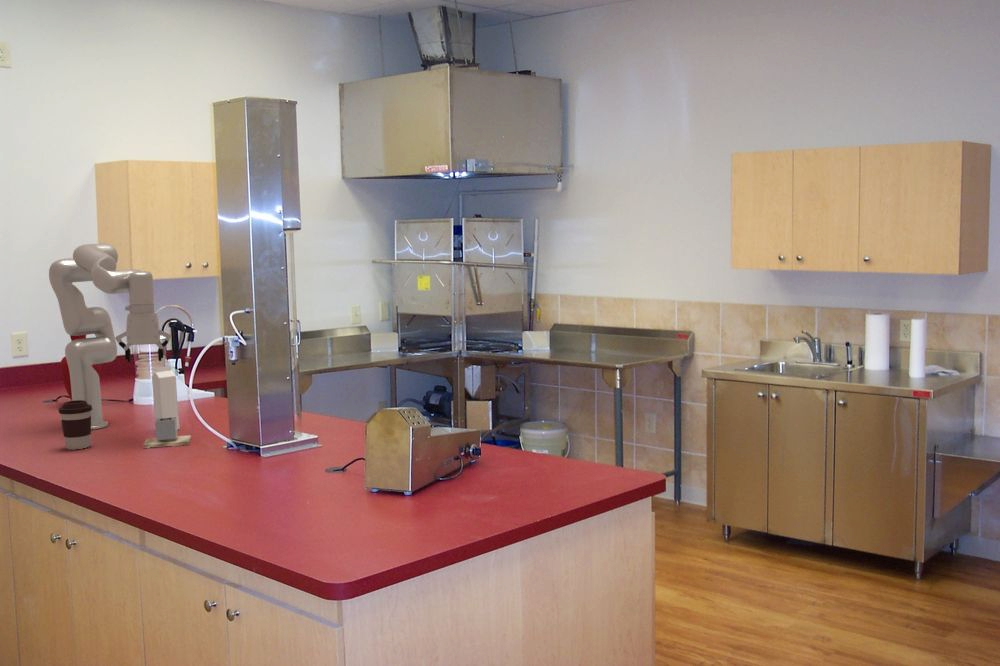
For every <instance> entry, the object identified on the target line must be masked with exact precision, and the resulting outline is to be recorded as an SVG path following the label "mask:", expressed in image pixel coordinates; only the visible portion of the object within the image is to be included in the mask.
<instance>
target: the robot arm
mask: <svg viewBox="0 0 1000 666" xmlns="http://www.w3.org/2000/svg"><path fill="white" fill-rule="evenodd" d="M118 260H119V253H118V251H117V249H116V247H114V246H113V245H112V244H110V243H87V244H85V243H84V244H81V245H79V246H77V247H76V248H75V249H74V251H73V253H72V257H67V258H62V259H58V260H57V259H56V260H55V261H54V262H52V263H51V265H50V267H49V269H48V278H49V283H50V286H51V289H52V290H53V292H54V294H55V296H56V299H57V302H58V306H59V311H60V315H61V320H62V324H63V328H64V330H65V332H66V334H67V335H69V336H70V335H72V336H79V335H86V336H88V335H95V336H94V337H86V338H84V339H77V340H73V341H70V342H68V343H67V344H66V345H65V348H64V355H65V356H66V359H67V363H68V367H69V372H70V380H71V391H72V401H75V400H84V401H86V402H87V404H89V405H92V410H91V411H90V416H91V431H93V430H98V429H103V428H106V427H108V425H109V424H108V423H109V422H108V421H106V420H104V419H103V418H104V417H103V407H102V394H101V393H102V392H101V382H100V381H101V378H100V379H99V375H98V373H97V372H96V371H95V370H94V368H93V367H92V365H94V364H105V363H110V362H113V361H114V360H116V359H117V356H118V347H117V346H118V345H119V346H120V347H121V348H122V349H123V350H124V353H125V354H124V357H125V358H124V359H125V360H127V363H130V362H132V357H131V355H132V353H131V352H132V351H131V349H130V347H131V346H133V345H135V346H136V345H137V346H138V345H140V346H141V345H156V346H157V347H158V350H157V355H158V356H157V357H158V359H157V360H158V361H159V362H162V360H163V359H164V348H165V347H166V346H167V345H168V344H169V342H170V341H171V338H172V335H171V334H170V333H167V332H166V331H163V330H161V329H160V323H159V318H158V313H157V312H155V301H154V300H155V299H154V295H155V294H154V278H153V274H152V273H151V272H150V271H147V270H146V271H144V270H140V269H134V268H133V269H121V270H120V269H117V263H118ZM82 282H83V283H84V282H92V283H93V285H94V286H95V288H96V289H98V290H100V291H102V292H104V294H105V293H106V294H109V295H110V294H111V295H115V294H124V293H128V298H129V299H128V300H129V305H126V306H124V309H125V311H128V312H129V313H128V314H127V316H126V331H124V332H122V333H120V334H118V335H117V336H115V332H114V328H113V324H112V319H111V316H110V314H109V312H108V311H107V310H106V309H105V308H103V307H100V306H93V307H92V306H91V307H88V306H87V305H86V301H85V297H84V294H83V293H82V292H81V290H80V289H79V288H78V287H77V286H76V285H75V284H73V283H82ZM161 336H162V337H165V340H164V341H163V342H162V341H160V340H161ZM124 337H126V343H125V342H123V340H122V339H123V338H124ZM117 343H118V345H117ZM61 419H62V417H60V420H61ZM60 424H62V422H61V421H60ZM92 429H93V430H92Z"/></svg>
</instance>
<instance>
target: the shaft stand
mask: <svg viewBox="0 0 1000 666" xmlns="http://www.w3.org/2000/svg"><path fill="white" fill-rule="evenodd" d="M164 420H170V419H163V421H164ZM191 441H192V434H190V435H177V437H176V439H166V440H156V437H151V438H146V439H145V441H144V443H143V449H144V448H147V449H151V448H150V447H159V448H166V447H165V446H172V447H181V446H183V445H184V446H190V445H191Z"/></svg>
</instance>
